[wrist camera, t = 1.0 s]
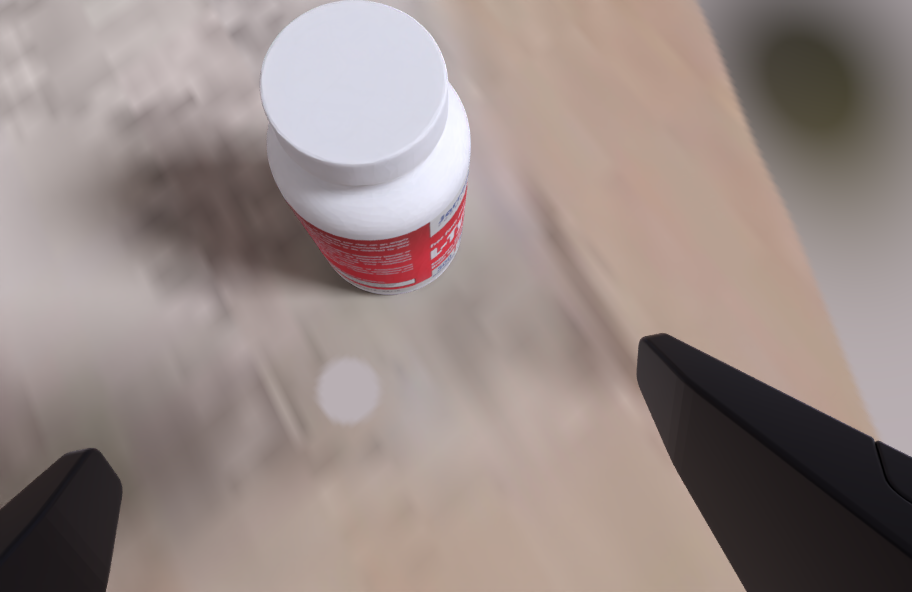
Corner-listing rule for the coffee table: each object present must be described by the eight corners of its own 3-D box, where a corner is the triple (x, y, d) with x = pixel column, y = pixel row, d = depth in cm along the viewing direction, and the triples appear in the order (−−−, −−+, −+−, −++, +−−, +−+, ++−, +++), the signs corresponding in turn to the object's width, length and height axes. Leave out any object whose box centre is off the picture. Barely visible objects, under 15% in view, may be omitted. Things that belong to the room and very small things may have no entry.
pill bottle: (455, 304, 24) (465, 208, 13) (311, 290, 24) (204, 182, 13) (468, 170, 25) (488, -17, 14) (333, 157, 25) (251, -41, 14)
